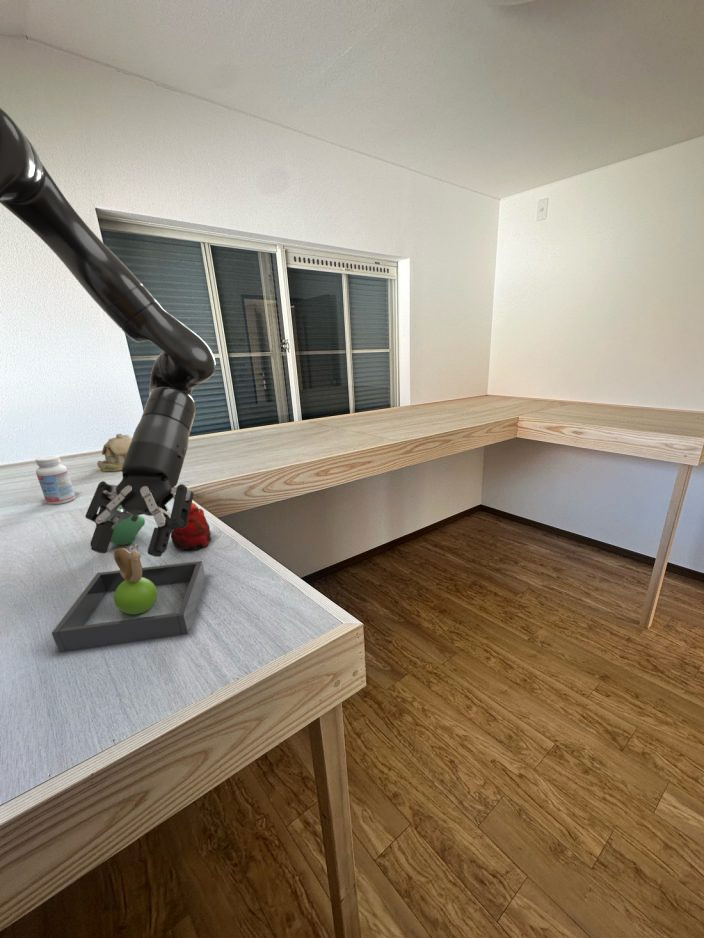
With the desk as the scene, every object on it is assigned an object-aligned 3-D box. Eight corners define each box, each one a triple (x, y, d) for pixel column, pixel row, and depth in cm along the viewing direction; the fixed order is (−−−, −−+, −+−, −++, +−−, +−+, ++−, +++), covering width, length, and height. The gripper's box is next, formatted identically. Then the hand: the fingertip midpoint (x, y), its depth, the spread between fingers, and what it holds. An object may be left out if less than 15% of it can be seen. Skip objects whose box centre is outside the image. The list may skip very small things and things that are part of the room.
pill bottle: (40, 503, 103) (24, 460, 98) (65, 495, 108) (50, 453, 103) (58, 506, 101) (42, 462, 96) (82, 497, 106) (68, 455, 102)
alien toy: (150, 545, 82) (137, 498, 78) (104, 554, 79) (89, 506, 75) (148, 531, 88) (137, 487, 84) (106, 540, 84) (91, 494, 80)
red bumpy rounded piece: (218, 544, 82) (204, 472, 76) (182, 557, 78) (164, 481, 71) (202, 532, 87) (188, 464, 81) (167, 544, 83) (150, 472, 76)
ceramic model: (132, 458, 139) (124, 428, 135) (158, 461, 136) (150, 430, 132) (93, 470, 127) (83, 438, 123) (120, 474, 124) (111, 441, 120)
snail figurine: (136, 629, 58) (113, 554, 53) (112, 614, 61) (88, 542, 56) (172, 608, 62) (153, 537, 58) (147, 596, 65) (128, 527, 61)
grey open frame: (61, 657, 54) (51, 632, 52) (104, 593, 67) (97, 572, 65) (189, 638, 57) (183, 614, 55) (206, 581, 70) (202, 560, 68)
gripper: (98, 438, 61) (58, 543, 55) (188, 440, 59) (157, 548, 54) (131, 462, 68) (99, 558, 62) (213, 464, 66) (188, 563, 61)
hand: (126, 553), depth 58 cm, fingers open, 8 cm apart
